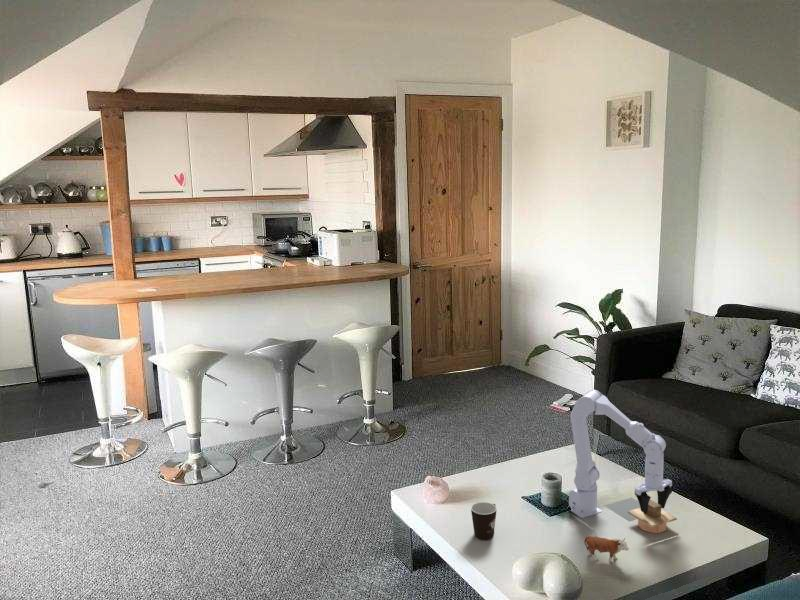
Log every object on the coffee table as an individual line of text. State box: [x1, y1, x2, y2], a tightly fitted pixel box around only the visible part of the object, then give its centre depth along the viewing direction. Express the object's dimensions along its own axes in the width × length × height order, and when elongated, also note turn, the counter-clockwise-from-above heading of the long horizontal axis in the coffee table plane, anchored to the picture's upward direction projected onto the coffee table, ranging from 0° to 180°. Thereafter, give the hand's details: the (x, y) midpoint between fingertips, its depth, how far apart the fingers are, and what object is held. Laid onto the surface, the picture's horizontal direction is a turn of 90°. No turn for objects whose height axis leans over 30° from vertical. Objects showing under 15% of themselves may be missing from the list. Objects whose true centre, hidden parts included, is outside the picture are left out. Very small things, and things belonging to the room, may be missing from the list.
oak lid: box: [628, 499, 678, 527], centre depth 229 cm, size 11×11×5 cm
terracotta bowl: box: [637, 519, 667, 534], centre depth 229 cm, size 9×9×4 cm
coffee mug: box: [470, 501, 498, 541], centre depth 228 cm, size 12×9×10 cm
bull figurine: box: [583, 535, 630, 564], centre depth 211 cm, size 4×13×8 cm, turn 66°
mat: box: [603, 497, 640, 522], centre depth 242 cm, size 13×13×1 cm
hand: (652, 509), depth 228 cm, fingers open, 7 cm apart
